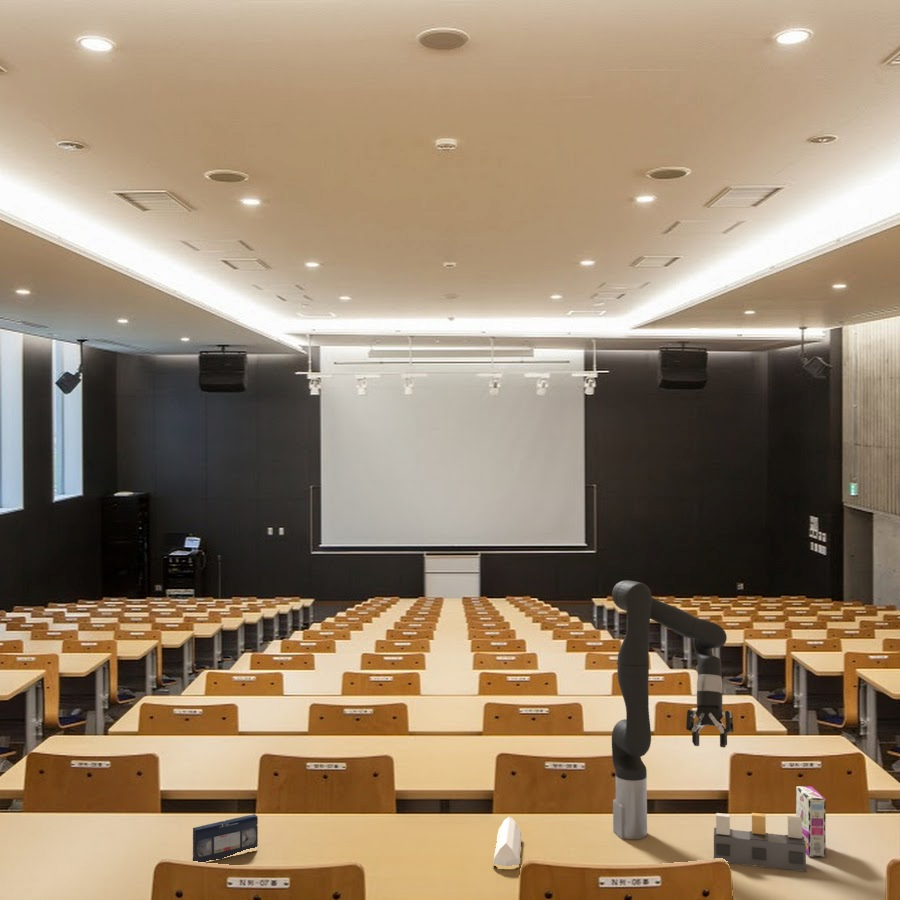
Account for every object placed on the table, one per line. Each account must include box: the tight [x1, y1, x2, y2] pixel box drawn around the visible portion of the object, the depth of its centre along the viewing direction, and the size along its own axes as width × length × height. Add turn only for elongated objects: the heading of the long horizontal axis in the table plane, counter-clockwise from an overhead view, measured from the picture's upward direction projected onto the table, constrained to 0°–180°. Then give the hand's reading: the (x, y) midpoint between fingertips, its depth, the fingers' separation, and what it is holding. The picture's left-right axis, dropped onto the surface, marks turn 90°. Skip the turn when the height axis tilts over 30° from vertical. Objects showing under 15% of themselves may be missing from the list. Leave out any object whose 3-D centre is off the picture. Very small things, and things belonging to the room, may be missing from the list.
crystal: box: [492, 816, 523, 866], centre depth 267 cm, size 7×7×24 cm
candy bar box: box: [795, 785, 827, 858], centre depth 269 cm, size 11×5×16 cm, turn 178°
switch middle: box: [751, 812, 767, 835], centre depth 262 cm, size 4×2×5 cm, turn 73°
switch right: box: [787, 816, 802, 838], centre depth 260 cm, size 4×2×5 cm, turn 73°
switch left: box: [715, 812, 731, 835], centre depth 262 cm, size 4×2×5 cm, turn 73°
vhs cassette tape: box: [192, 813, 259, 862], centre depth 266 cm, size 18×3×10 cm, turn 122°
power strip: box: [713, 827, 807, 872], centre depth 261 cm, size 24×6×7 cm, turn 73°
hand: (709, 746), depth 281 cm, fingers open, 8 cm apart
